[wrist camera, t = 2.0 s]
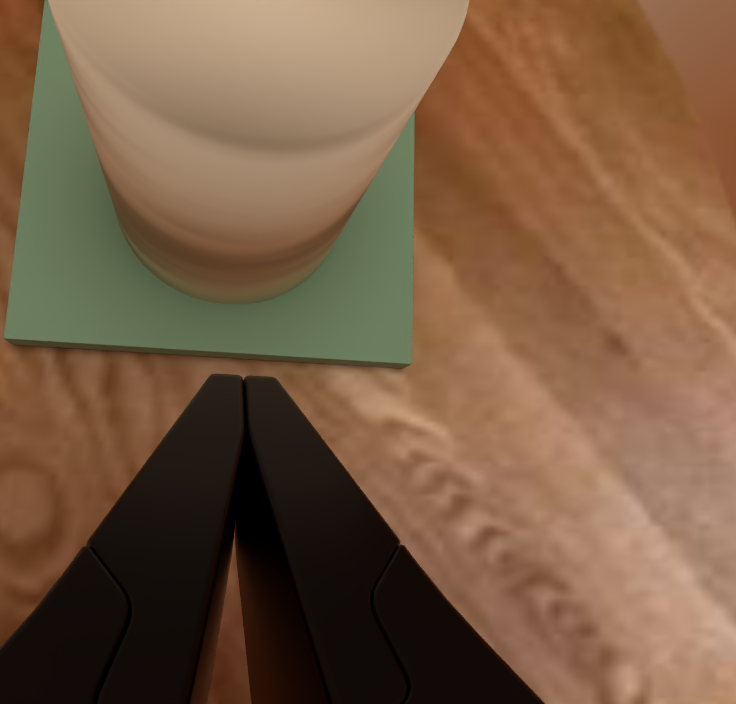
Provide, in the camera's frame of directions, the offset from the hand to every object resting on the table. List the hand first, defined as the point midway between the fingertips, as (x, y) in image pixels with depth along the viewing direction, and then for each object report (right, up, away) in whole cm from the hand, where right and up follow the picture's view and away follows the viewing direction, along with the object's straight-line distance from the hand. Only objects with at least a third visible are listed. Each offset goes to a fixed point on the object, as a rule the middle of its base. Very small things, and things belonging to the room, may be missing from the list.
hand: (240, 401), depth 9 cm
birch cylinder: (-3, +6, +12) cm, 14 cm away
